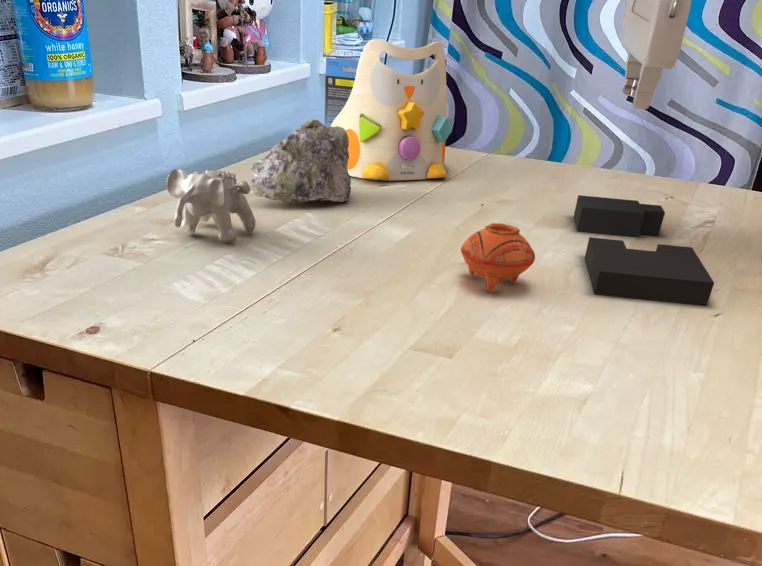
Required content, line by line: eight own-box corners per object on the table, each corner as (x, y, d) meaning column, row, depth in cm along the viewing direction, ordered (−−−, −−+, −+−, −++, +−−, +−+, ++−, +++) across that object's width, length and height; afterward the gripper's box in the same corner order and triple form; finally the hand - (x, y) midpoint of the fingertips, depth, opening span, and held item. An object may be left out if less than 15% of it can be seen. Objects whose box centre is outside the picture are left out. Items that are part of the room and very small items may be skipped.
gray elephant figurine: (259, 227, 99) (258, 160, 95) (242, 260, 90) (239, 187, 85) (185, 221, 99) (180, 154, 95) (159, 253, 90) (153, 180, 85)
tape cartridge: (377, 140, 142) (383, 59, 134) (371, 145, 139) (377, 62, 131) (329, 134, 144) (332, 54, 136) (322, 138, 141) (325, 57, 133)
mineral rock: (248, 207, 106) (245, 122, 100) (262, 186, 114) (261, 107, 108) (345, 215, 105) (349, 131, 99) (352, 193, 114) (356, 114, 108)
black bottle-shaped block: (573, 218, 110) (578, 195, 109) (653, 225, 110) (659, 202, 108) (576, 231, 106) (582, 207, 104) (660, 239, 105) (667, 215, 103)
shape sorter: (347, 185, 117) (354, 43, 106) (323, 167, 125) (327, 33, 114) (468, 180, 123) (485, 45, 113) (438, 163, 131) (452, 35, 120)
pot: (440, 281, 87) (454, 215, 84) (475, 281, 93) (490, 219, 90) (504, 299, 83) (521, 230, 80) (537, 298, 89) (554, 234, 86)
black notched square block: (685, 268, 96) (692, 247, 95) (706, 305, 87) (714, 282, 85) (584, 258, 97) (589, 237, 95) (594, 294, 88) (599, 271, 86)
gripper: (717, -32, 82) (675, 119, 90) (680, -39, 98) (648, 90, 106) (654, -37, 82) (618, 114, 90) (628, -43, 98) (599, 85, 107)
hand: (634, 101), depth 98 cm, fingers open, 8 cm apart
